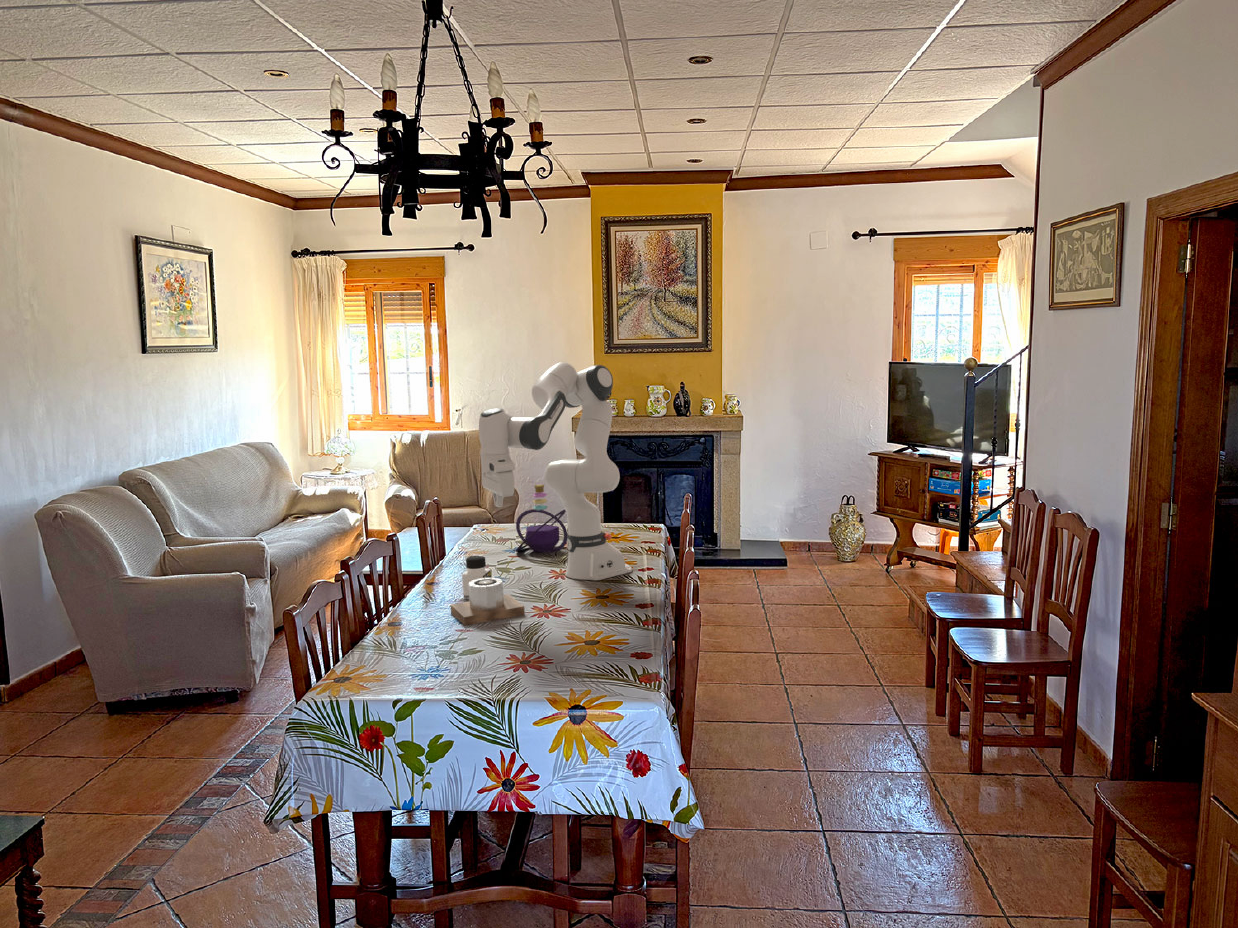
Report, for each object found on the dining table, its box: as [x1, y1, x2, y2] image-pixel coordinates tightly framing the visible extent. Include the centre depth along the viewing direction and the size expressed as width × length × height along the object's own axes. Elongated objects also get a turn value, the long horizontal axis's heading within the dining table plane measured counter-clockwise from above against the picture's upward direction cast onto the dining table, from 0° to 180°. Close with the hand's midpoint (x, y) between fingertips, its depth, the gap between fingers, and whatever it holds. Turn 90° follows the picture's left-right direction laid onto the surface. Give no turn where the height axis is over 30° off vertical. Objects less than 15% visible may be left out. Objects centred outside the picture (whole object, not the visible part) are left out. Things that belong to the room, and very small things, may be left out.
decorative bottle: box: [515, 484, 568, 554], centre depth 331 cm, size 22×21×25 cm
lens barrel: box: [468, 577, 504, 611], centre depth 259 cm, size 10×10×7 cm
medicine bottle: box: [461, 554, 492, 597], centre depth 280 cm, size 7×7×12 cm
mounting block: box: [450, 594, 526, 627], centre depth 259 cm, size 18×14×2 cm
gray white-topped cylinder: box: [477, 580, 494, 586], centre depth 258 cm, size 5×5×6 cm
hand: (498, 506), depth 272 cm, fingers closed
